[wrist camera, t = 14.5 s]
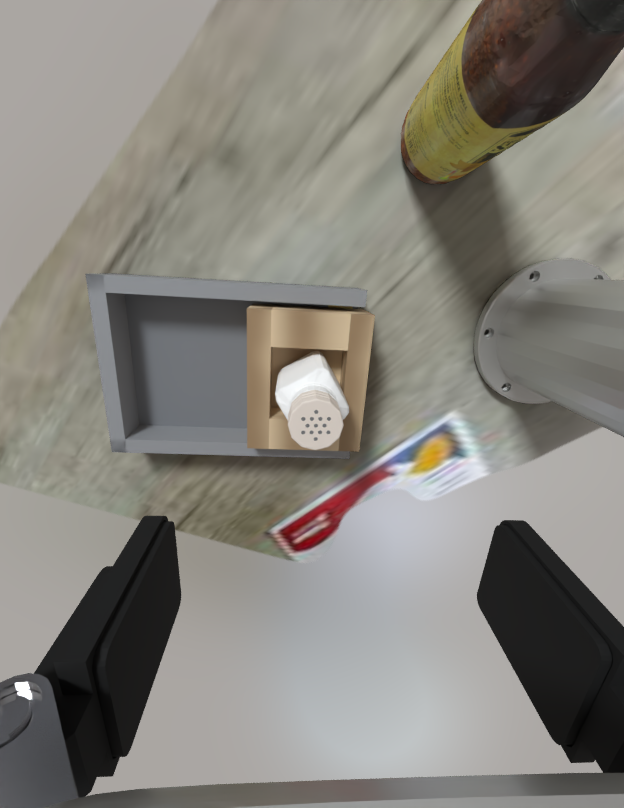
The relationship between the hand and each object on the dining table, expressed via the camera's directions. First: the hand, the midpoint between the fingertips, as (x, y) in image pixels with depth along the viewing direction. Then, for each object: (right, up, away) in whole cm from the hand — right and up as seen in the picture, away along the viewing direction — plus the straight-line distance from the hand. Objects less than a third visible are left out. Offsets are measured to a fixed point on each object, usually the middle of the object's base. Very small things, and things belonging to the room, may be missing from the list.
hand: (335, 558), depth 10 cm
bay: (-7, +8, +22) cm, 24 cm away
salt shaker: (-1, +7, +19) cm, 20 cm away
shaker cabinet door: (-1, +7, +21) cm, 22 cm away
